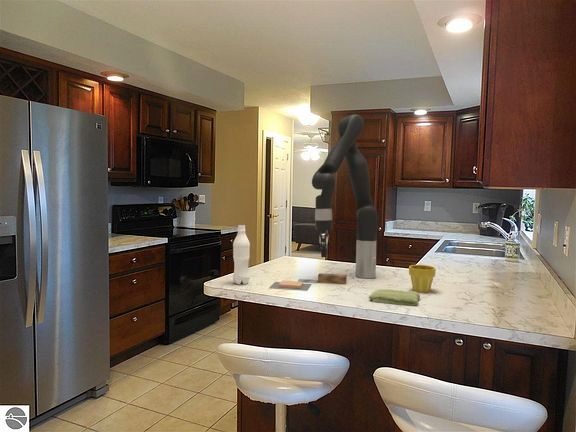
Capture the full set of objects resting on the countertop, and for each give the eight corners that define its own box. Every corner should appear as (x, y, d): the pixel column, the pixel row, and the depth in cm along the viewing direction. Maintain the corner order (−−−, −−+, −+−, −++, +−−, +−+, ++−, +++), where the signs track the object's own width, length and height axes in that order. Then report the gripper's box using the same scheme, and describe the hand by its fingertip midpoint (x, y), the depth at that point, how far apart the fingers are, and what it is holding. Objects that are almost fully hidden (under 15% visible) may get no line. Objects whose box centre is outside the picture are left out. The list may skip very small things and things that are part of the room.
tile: (303, 281, 177) (282, 280, 179) (300, 285, 171) (278, 284, 172) (303, 284, 178) (282, 283, 179) (300, 288, 171) (278, 287, 172)
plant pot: (421, 294, 166) (422, 270, 166) (402, 288, 176) (403, 265, 175) (440, 292, 171) (441, 268, 170) (421, 286, 180) (422, 263, 180)
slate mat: (311, 285, 179) (311, 284, 179) (307, 292, 168) (307, 290, 168) (275, 283, 183) (275, 281, 182) (268, 289, 171) (268, 288, 171)
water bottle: (252, 282, 183) (253, 225, 181) (244, 285, 177) (244, 226, 175) (238, 280, 186) (238, 224, 184) (229, 284, 180) (229, 225, 178)
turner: (346, 283, 184) (346, 274, 184) (345, 286, 179) (345, 277, 178) (299, 280, 189) (299, 271, 188) (296, 283, 183) (296, 274, 182)
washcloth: (373, 294, 168) (374, 286, 167) (420, 299, 161) (420, 291, 161) (367, 302, 155) (368, 294, 155) (417, 308, 149) (418, 299, 149)
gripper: (331, 220, 178) (332, 258, 179) (332, 217, 192) (333, 252, 193) (314, 220, 179) (314, 258, 180) (316, 217, 193) (316, 252, 194)
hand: (324, 255), depth 187 cm, fingers open, 8 cm apart
